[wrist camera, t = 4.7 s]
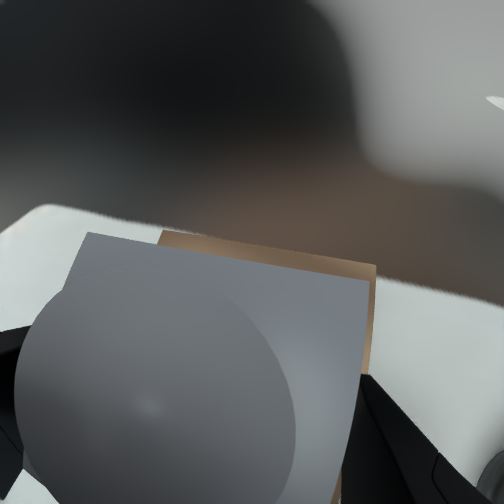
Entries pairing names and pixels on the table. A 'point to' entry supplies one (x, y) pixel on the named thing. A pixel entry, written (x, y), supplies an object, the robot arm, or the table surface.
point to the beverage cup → (493, 480)
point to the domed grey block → (190, 379)
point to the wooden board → (290, 261)
